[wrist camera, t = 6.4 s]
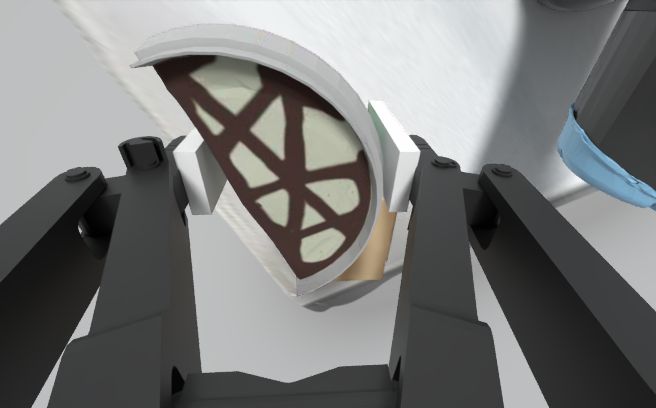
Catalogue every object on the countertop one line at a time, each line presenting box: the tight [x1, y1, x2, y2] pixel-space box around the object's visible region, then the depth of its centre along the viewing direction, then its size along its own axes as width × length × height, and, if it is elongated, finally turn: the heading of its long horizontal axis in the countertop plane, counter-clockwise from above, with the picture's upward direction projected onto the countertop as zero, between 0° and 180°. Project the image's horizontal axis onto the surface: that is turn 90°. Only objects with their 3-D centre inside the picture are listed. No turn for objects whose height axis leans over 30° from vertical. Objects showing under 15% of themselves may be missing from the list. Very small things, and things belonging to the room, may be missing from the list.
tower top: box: [332, 197, 395, 281], centre depth 45 cm, size 12×16×4 cm
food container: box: [129, 24, 383, 297], centre depth 15 cm, size 12×6×10 cm, turn 21°
